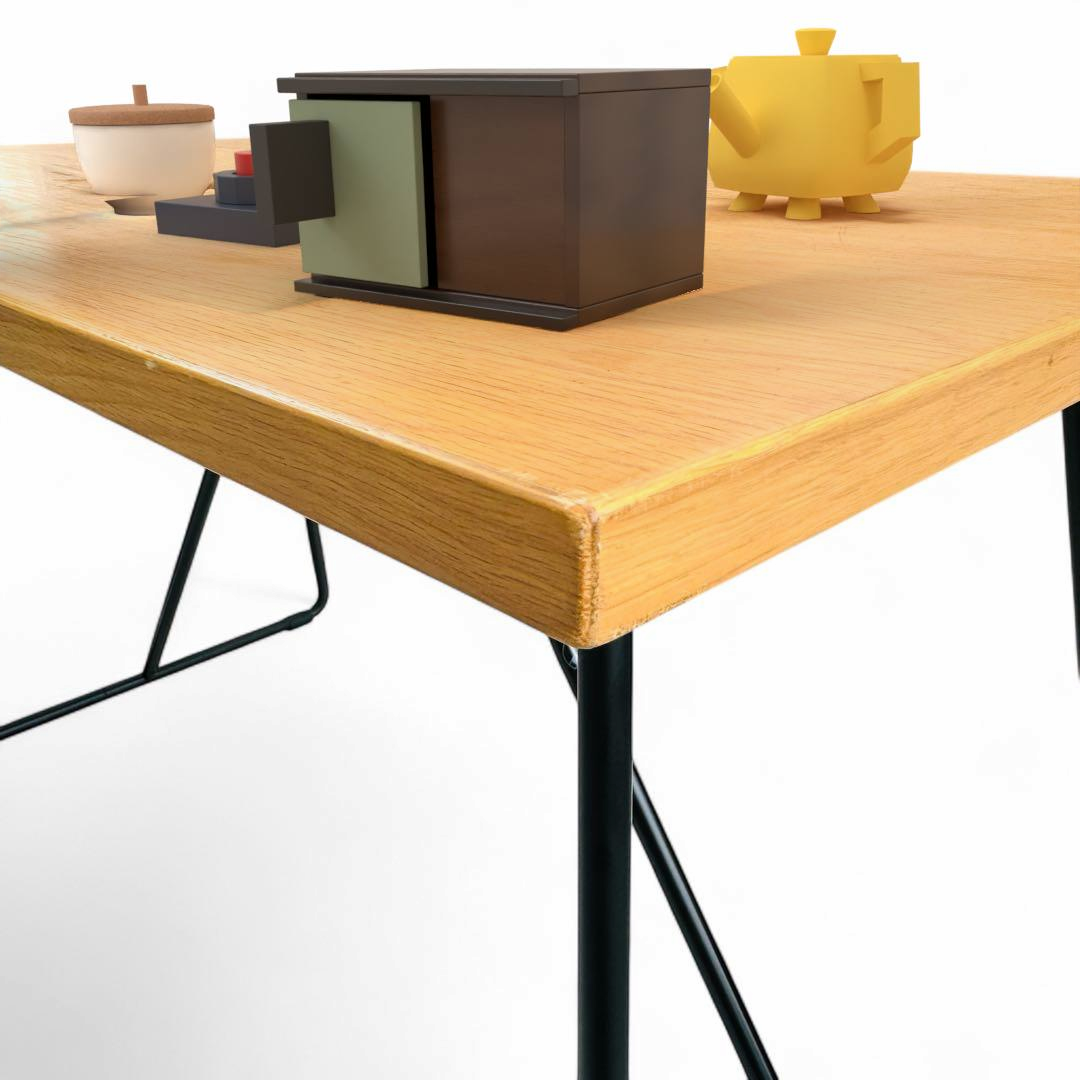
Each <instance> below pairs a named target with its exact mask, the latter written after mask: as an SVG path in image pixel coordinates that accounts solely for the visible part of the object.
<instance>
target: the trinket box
mask: <svg viewBox="0 0 1080 1080" xmlns="http://www.w3.org/2000/svg"><path fill="white" fill-rule="evenodd" d="M131 88H132V89H131V90H132V95H133V103H122V104H121V103H119V104H101V105H89V106H86V105H85V106H80V107H73V108H70V109H69V110H68V120H69V123H70V124H71V129H72V134H73V141H74V145H75V151H76V155H77V158H78V162H79V166H80V168H81V170H82V174H83V176H84V177H85V179H86V181H87V182H88V185H89V187H91V189H92V190H93V192H94V193H96V194H98V195H99V194H100V195H107V196H134V197H125V198H117V199H109V200H108V199H107V200H104V203H106V204H107V205H108V206H110V207H112V209H113V211H114V215H115V214H116V215H119V216H137V217H138V216H140V217H141V216H142V217H143V216H144V217H145V216H156V213H155V205H154V202H155V201H161V200H169V199H178V198H186V197H194V196H203V195H205V193H206V192H207V190H208V188H209V186H210V184H211V183H212V180H213V173H215V167H216V159H217V158H216V156H217V150H216V149H217V142H216V128H215V121H214V120H215V119H216V115H215V114H216V113H215V108H214V106H212V105H210V104H200V103H180V102H179V103H177V102H176V103H173V102H172V103H171V102H169V103H167V102H166V103H164V102H163V103H161V102H159V103H157V102H156V103H155V102H154V103H153V102H152V103H149V98H148V91H147V90H148V89H147V84H131Z"/></svg>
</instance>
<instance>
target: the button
mask: <svg viewBox="0 0 1080 1080" xmlns="http://www.w3.org/2000/svg"><path fill="white" fill-rule="evenodd" d="M233 156H234V166H235V167H234V168H235V169H236V175H253V165H252V155H251V149H246V150H238V151H234V153H233Z"/></svg>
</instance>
